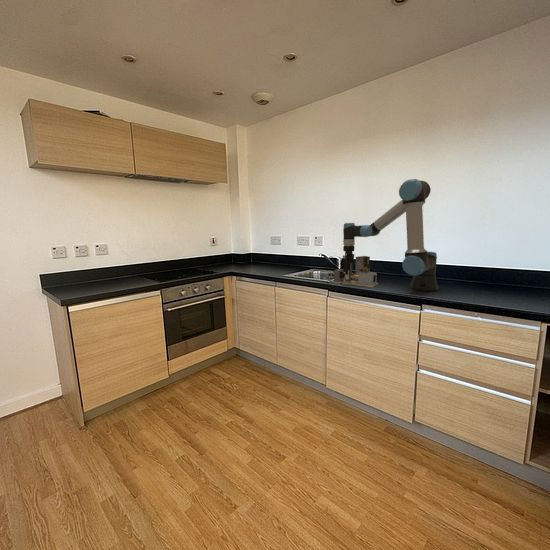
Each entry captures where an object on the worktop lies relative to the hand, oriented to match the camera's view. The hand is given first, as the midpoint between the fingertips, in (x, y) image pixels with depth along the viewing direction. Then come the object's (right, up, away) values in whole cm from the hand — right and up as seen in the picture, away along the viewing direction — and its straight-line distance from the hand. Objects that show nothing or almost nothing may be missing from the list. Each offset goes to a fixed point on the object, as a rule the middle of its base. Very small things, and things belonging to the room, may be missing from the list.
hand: (348, 278), depth 202 cm
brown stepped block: (+3, -2, -2) cm, 4 cm away
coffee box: (+17, +1, +22) cm, 28 cm away
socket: (-6, -2, +5) cm, 8 cm away
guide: (+4, -3, -2) cm, 6 cm away
